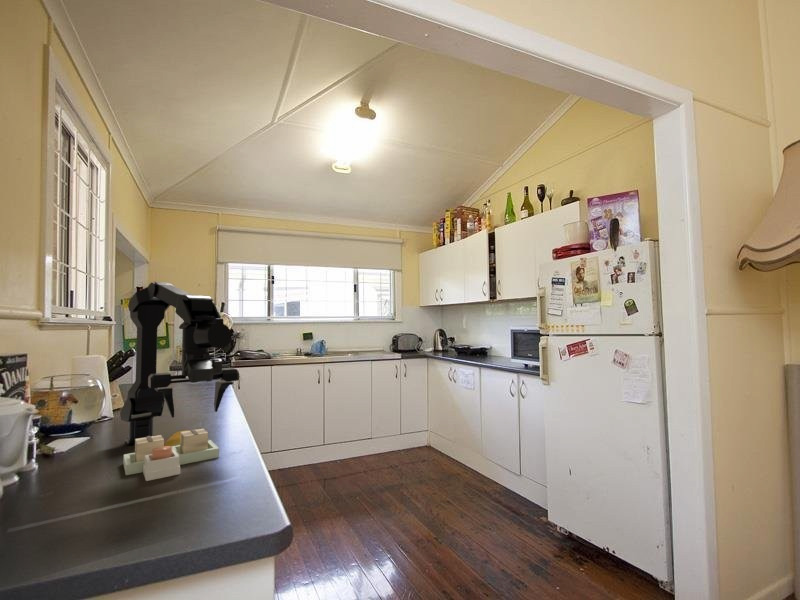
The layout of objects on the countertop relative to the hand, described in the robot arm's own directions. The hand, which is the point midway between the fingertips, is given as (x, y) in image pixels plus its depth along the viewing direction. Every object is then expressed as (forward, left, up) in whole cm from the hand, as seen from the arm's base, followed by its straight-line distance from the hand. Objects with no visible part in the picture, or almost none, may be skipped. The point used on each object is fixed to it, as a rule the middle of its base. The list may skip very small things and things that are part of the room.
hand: (194, 414), depth 96 cm
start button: (+8, -8, -7) cm, 13 cm away
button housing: (+8, -8, -10) cm, 15 cm away
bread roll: (-13, -1, -11) cm, 17 cm away
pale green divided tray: (0, -5, -10) cm, 11 cm away
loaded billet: (0, -9, -10) cm, 13 cm away
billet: (0, 0, -10) cm, 10 cm away
